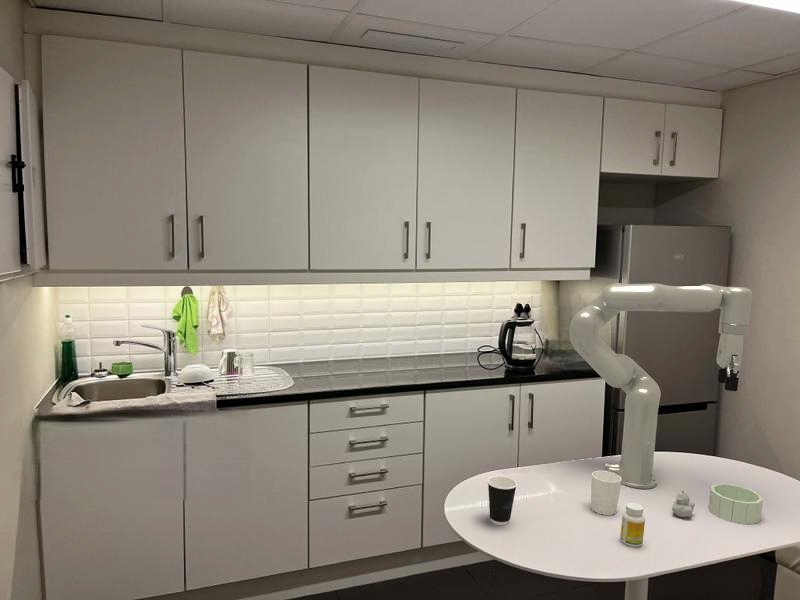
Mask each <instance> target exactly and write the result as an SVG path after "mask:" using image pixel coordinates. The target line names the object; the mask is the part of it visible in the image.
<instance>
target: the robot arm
mask: <svg viewBox="0 0 800 600" xmlns="http://www.w3.org/2000/svg"><path fill="white" fill-rule="evenodd" d="M752 300H753V292H752V289H750V288H748V287H743V286H742V287H741V286H721V285H717V284H712V283H705V284H700V285H699V286H698V285H697V286H696V285H693V286H689V285H688V286H682V285H681V286H680V285H679V286H678V285H666V284H663V283H656V282H655V283H652V282H651V283H621V282H614V283H611V284H609V285H607V286H605V287H604V288H603V289H602V292H601V293H600V294H599V295H598V296H597V297H596V298H595V299H593V300H592V301H591V302H590V303H589V304H588V305H587V306H585V308H583V309H581V310H578V311H577V313H575V315H574V316H573V318H572V319H571V322H570V326H569V330H568V331H569V332H568V334H569V341H570V342H571V345H572V347H573V348H574V350H575V351H576V352H577V354H578V355H579V356H580V357H582V358H583V360H584V361H585V362H586V363H587V364H588V365H589V366H590V367H591V368H592V369H593V370H594V371H595V372H596V373H597V374H598V375H599V376H600V378H601V379H602V380H603V381H604V382H606V383H607V385H609V386H611V387H612V388H615V389H616V388H617V389H620V388H621V390H622V391H623V392H624V393H625V394H626V396H625V401H624V419H623V420H624V421H623V433H622V443H621V444H622V445H621V456H620V461H619V463H613V464H612V463H610V462H605V466H604V468H605V469H606V470H608V472H612V473H615V474H617V475H619V476H620V477H621V485H624V486H626V485H627V487H630V488H635V489H642V490H643V489H644V490H647V489H653V488H655V487H656V486H657V484H658V480H657V479H656V478H655V477H654V476H653V470H654V469H653V468H654V459H655V449H656V446H655V445H656V438H657V437H656V436H657V427H658V413H659V405H660V401H661V396H662V393H661V389H660V386H659V384H658V383H657V382H656V381H655V380H654V379H653V378H652V377H651V376H650V375H649V374H648V373H647V372H646V371H645V370H644V369H643V368H642V367H641V366H640V365H639V364H638V363H637V362H636V361H635V360H634V359H633V358H631V357H630V356H629V355H626V354H623V353H616V352H615V351H614V350H613V349H612V348H611V347H610V346H609V345H608V344H607V343H606V342H605V341H603V340H602V338H600V336H599V335H598V332H599V331H600V330H601V329H603V327H604V326H605V325H607V324H608V323H609V322H610V321H611V320H612V319H613V318H615V317H616V316H617V315H618V314H620V312H660V313H661V312H663V313H664V312H676V313H677V312H679V313H710V312H712V311H715V310H717V309H720V313H719V315H720V316H719V323H718V324H719V325H718V334H720V336H719V342H718V347H717V352H716V353H717V354H716V364H717V365H718V366H719V370H718V375H717V376H718V377H717V382H718V383H722V384H724V390H725V391H729V392H737V391H738V387H739V378H740V374H739V372H740V371H739V370H740V369H741V368H742V362H743V353H744V344H745V343H744V338H745V337H749V336H748V335H749V326H750V320H751V319H750V317H751V309H752V302H753V301H752Z"/></svg>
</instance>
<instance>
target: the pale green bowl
mask: <svg viewBox="0 0 800 600" xmlns="http://www.w3.org/2000/svg"><path fill="white" fill-rule="evenodd" d="M709 490H710V491H709V501H708V508H709V512H710V513H712V514H713V515H715V516H716V517H718V518H720V519H723V520H726V521H728V522H732V523H736V524H741V525H755V524H758V523H759V522H760V521H761V518H762V510H763V501H764V499H763V498H762V496H761V494H759V493H758V492H756V491H754V490H752V489H751V488H747V487H744V486H740V485H738V484H733V483H731V484H730V483H715V484H713V485H711V486H710V489H709Z"/></svg>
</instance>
